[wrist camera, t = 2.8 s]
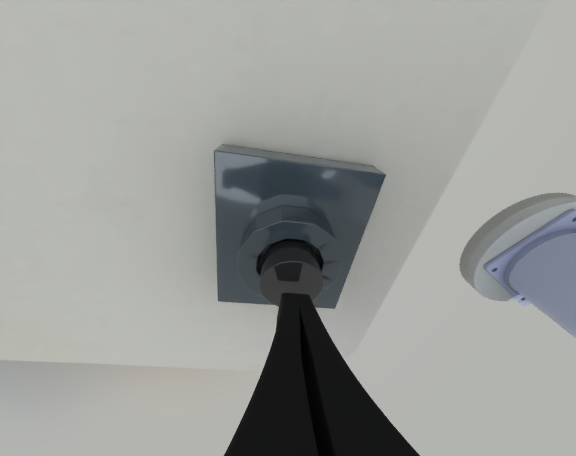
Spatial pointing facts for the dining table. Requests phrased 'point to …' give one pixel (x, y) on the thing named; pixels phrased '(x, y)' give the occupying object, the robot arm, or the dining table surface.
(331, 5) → the dining table surface
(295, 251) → the dark grey push button
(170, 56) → the dining table surface
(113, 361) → the dining table surface
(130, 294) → the dining table surface
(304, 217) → the grey button housing
